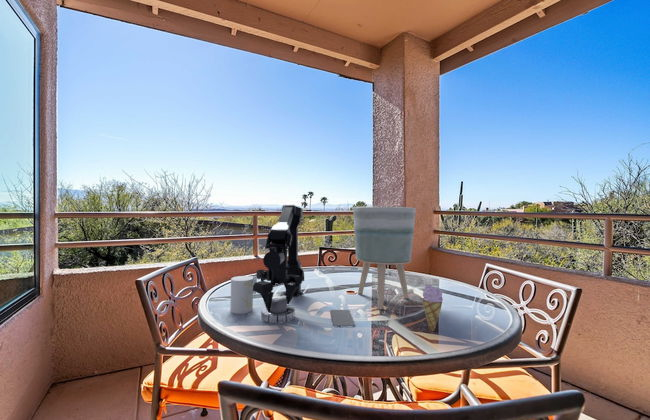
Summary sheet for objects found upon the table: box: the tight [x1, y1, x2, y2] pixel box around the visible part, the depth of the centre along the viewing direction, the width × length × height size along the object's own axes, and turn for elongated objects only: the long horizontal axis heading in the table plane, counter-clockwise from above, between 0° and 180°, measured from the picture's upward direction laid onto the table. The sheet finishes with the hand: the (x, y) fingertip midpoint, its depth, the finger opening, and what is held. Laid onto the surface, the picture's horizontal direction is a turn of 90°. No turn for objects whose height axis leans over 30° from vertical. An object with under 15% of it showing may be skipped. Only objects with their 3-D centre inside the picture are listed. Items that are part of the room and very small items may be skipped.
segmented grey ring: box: [260, 304, 296, 324], centre depth 102 cm, size 12×12×2 cm
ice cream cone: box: [422, 284, 444, 332], centre depth 93 cm, size 7×6×15 cm
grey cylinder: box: [230, 275, 254, 315], centre depth 109 cm, size 8×8×12 cm
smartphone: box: [329, 309, 356, 328], centre depth 102 cm, size 8×1×15 cm
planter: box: [352, 206, 417, 310], centre depth 124 cm, size 26×26×40 cm
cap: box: [270, 296, 288, 314], centre depth 102 cm, size 6×6×7 cm
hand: (278, 307), depth 102 cm, fingers open, 9 cm apart
